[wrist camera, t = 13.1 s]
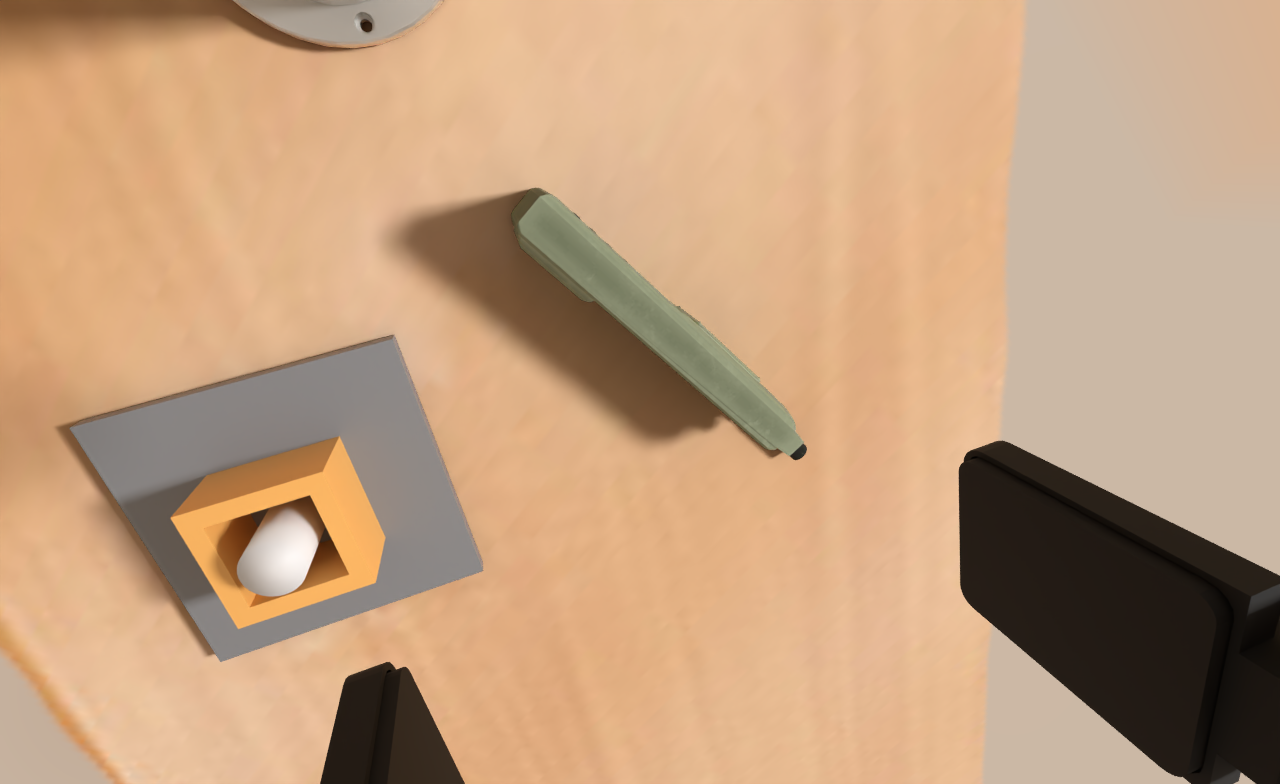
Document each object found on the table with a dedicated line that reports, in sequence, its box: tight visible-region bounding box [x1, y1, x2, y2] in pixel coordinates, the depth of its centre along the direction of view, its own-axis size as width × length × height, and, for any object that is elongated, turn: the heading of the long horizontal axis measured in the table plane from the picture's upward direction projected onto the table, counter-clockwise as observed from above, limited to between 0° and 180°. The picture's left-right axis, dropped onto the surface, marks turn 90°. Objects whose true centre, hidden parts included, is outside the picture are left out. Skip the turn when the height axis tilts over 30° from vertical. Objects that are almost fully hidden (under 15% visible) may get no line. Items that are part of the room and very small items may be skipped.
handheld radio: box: [511, 188, 807, 460], centre depth 36 cm, size 7×3×25 cm
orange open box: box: [171, 436, 386, 629], centre depth 33 cm, size 7×7×4 cm
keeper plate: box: [70, 335, 483, 662], centre depth 33 cm, size 16×16×7 cm
